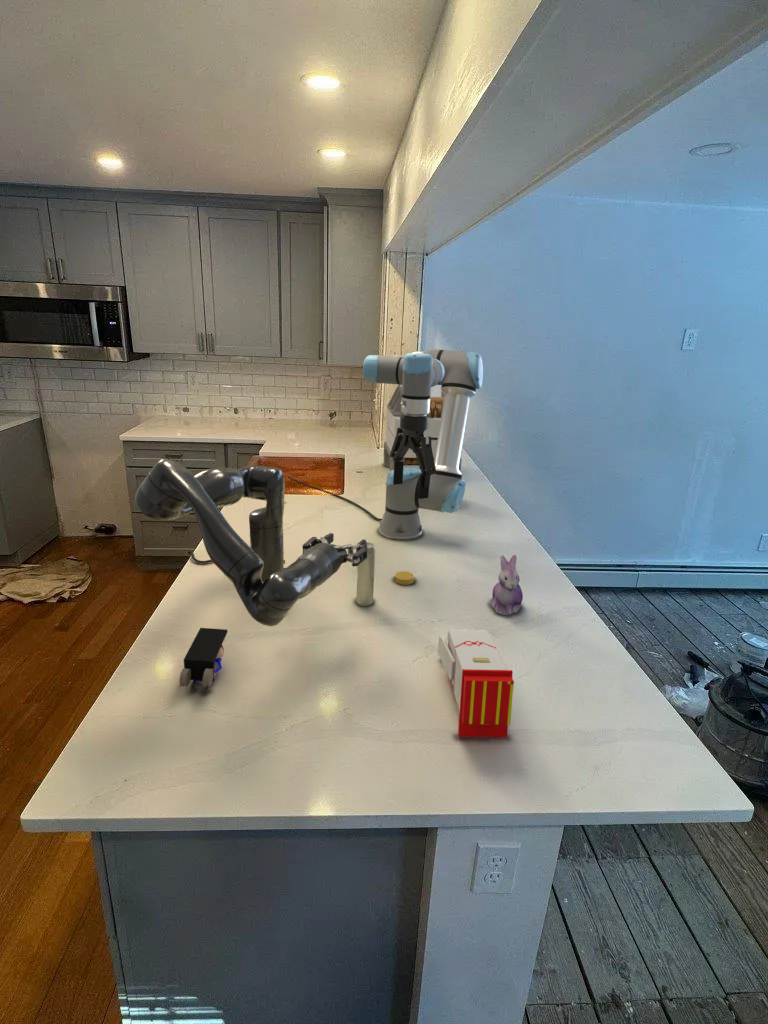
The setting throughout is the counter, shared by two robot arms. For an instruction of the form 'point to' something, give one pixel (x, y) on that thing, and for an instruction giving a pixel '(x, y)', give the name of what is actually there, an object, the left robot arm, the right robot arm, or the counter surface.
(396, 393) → the white wooden crate
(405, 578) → the lid
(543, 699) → the counter surface
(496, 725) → the toy
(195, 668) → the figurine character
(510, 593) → the figurine
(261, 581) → the left robot arm
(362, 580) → the bottle
